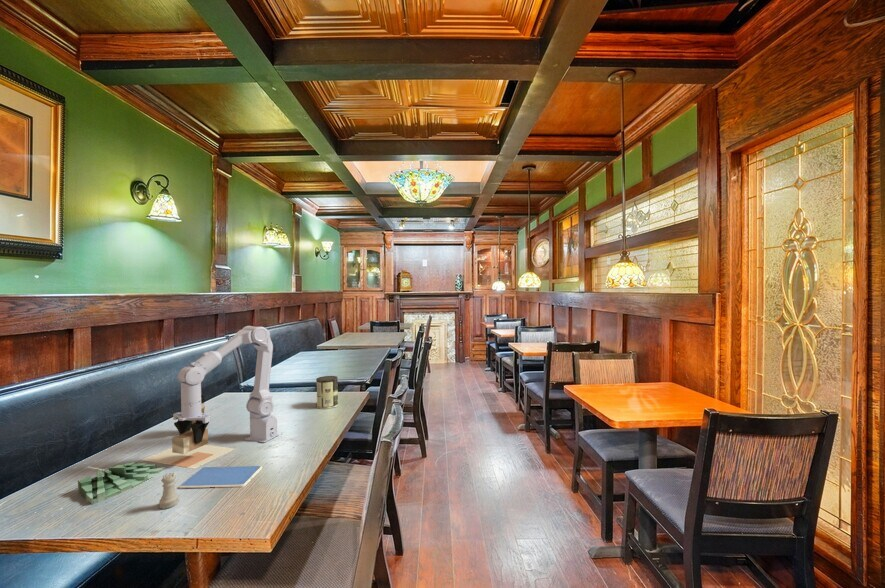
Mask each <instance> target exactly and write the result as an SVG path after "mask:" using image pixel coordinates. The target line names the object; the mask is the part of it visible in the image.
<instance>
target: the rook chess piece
mask: <svg viewBox="0 0 885 588" xmlns="http://www.w3.org/2000/svg"><path fill="white" fill-rule="evenodd" d="M176 478H177V476H176V475H175V473H174V472H173V473H172V472H170V473H169V474H168V473H166V474H165V475H163V476H162V479H161V483H163V484H162V488H163V489H162V495H161V496H160V499H159V501H158V502H159V505H158V507H159V508H160V509H162V510H165V509H170V508H173V507H175V506H176V505H177V504H178V503H179V502H180V499H179V497H180V496H179V495H178V493H177V492H176V489H175V484H176V482H175V480H176Z"/></svg>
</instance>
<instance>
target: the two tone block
mask: <svg viewBox="0 0 885 588" xmlns="http://www.w3.org/2000/svg"><path fill="white" fill-rule="evenodd" d="M203 445H209V428H206V429H205V432H204V435H203V438H202V442H200V443H198V444H195V443H194V435H193V431H192V430H190V431H187V432H185V433H182V434H180V433H179V434H177V435H175V436H171V448H172V452H173V453H179V454H185V453H188V452H190V451H192V450H194V449H197V448H199V447H201V446H203Z"/></svg>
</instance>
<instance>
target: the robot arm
mask: <svg viewBox="0 0 885 588" xmlns="http://www.w3.org/2000/svg"><path fill="white" fill-rule="evenodd" d="M249 344H250V345H252V346H253V348H255V350H257V351H256V352H257V355H256V364H255V372H254V373H255V374H254V384H253V390H252V391H251V392H250V394H249V398H248V400H247V402H246V404H245V408H246V410H247V412H248V413H249V435H250V436H248V437H246V438H244V440H246V441H253V442H258V443H267V442H269V441H270V440H273V439H274V438H276V437H278V436H279V435H280V434H279V433H278V420H277V417H276V416H273V415H272V412H273V410H274V401H273V395H272V393H271V391H270V381H271V372H272V371H271V370H272V359H273V351H274V344H273V342H272V338H271V332H270V331H269V330H268V329H267V328H266V327H264V326H252V325H246V326H244V327H243V328H242V329H239V330H238V331H237V332H236V333H235V335H233V336H232V337H230V339H228V340H227V341H226V342H224V343H223V344H222V345H221V346H219V347H218V348H217V349H216V350H209V351H205V352H203V353H202V355H201V357H199V358H198V359H197V360H195V361H192V362H191V363H190V365H189V366H184V367H183V368H181V369H180V370H179V373H178V375H176V377H177V380H178V381H179V382H180V408H181V409H180V410H181V411H180V412H179V411H178V412H175V413H173V414H172V417H173V418H172V420H173V421H174V420H175V421H176V420H177V421H176V422H175V421H174V423H173V425H174V427H175V428H176V430H177V431H178V433H179V434H182V433H185V432H187V431H190V430H191V428H192V431H193V435H194V443H195V444H198V443H200V442H202V438H203V435H204V432H205V429H207V427H208V425H209V423H210V422H211V415H208V414H206V413H204V414H203V413H202V411H201V395H202V382H203V381H204V379H205V377H206V375H207V374H209V373H210V372H212V370H214V369H215V368H216V367H217V366H219V365H220V364H222V359H223V358H224V357H225V356H227V355H228V354H230V353H231V352H233V351H234V350H236V349H237V348H238V347H239V346H242V345H249ZM192 421H196V423H193V424H192Z"/></svg>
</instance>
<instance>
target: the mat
mask: <svg viewBox="0 0 885 588" xmlns="http://www.w3.org/2000/svg"><path fill="white" fill-rule="evenodd" d="M234 450H235V448H232V447H226V446H225V447H224V446H218V445H210V444H206V445H203V446H201V447H199V448H197V449H194V450H192V451H190V452H188V453H185V454H179V453H173V452H172V447H169V448H167V449H165V450H162V451H160V452H158V453H155V454H153V455H150V456H148V457H144V458H142V459H141V461H145V462H150V463H151V462H152V463H155V464H164V465H169V466H176V467H181V468H188V469H193V470H194V469H197V468H199V467H201V466H203V465H205V464H207V463H210V462H211V461H214V460H215V459H218V458H220V457H222V456H224V455H226V454H228V453H230V452H232V451H234ZM200 465H201V466H200Z"/></svg>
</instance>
